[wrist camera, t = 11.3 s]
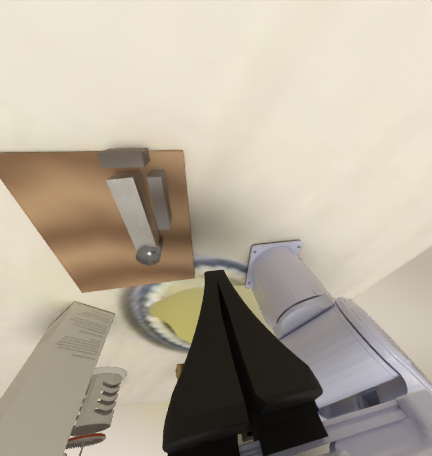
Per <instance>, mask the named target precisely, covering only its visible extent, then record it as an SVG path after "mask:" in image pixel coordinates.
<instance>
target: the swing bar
mask: <svg viewBox="0 0 432 456" xmlns="http://www.w3.org/2000/svg"><path fill="white" fill-rule="evenodd" d="M106 182H107V184H108V186H109V189H110V191H111V193H112V196H113V198H114V200H115V202H116V205H117V207H118V209H119V212H120V214H121V216H122V218H123V221H124V223H125V225H126V228H127V230H128V232H129V235H130V237H131V239H132V241H133V244H134V246H135V248H136V251H137V253H136V260H137V261H138V262H139V263H141V264H143V265H147V266H151V265H155V264H157V263H158V262H159V261H160V258H161V252H162V246H163V238H162V237H161V236H160V234H159V231H158V228H157V225H156V221H155V218H154V215H153V212H152V208H151V205H150V202H149V199H148V195H147V192H146V189H145V186H144V182H143V179H142V176H141V173H140V170H136V171H125V172H116V173H115V174H114V175H112V176H111V177H109V178H108V179H107V180H106Z"/></svg>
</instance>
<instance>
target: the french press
mask: <svg viewBox="0 0 432 456" xmlns="http://www.w3.org/2000/svg"><path fill="white" fill-rule="evenodd" d="M126 375H127V371H126V370H124V369H121V368H118V367H101V368H95V369H94V372H93V375H92V378H91V380H90V383H89V386H88V388H87V391H86V394H85V395H86V397H85V398H84V399H83V402H82V404H83V405H82V404H81V405H82V407H80V410H79V411H80V414H79V415H78V416H77V418H76V420H77V422H76V425H74V426H73V429H72V431H71V434H70V436H75V437H73V438H70V439H68V442H67V445H66V448H65V449H68V448H72V447H73V448H74V447H78V446H80V447H82V448H81V451H80V454H79V456H81V452H82V449H83V447H85V445H86V446H87V445H90V444H91V445H94V444H97V443H100V442H102V441H103V440H105V438H106V437H105V434H102V433H96V432H99V431H102V430H105V429H107V428H109V427H110V425H111V421H112V417H113V413H114V410H113V408H114V407H115V404H116V402H115V400H116V398H117V396H118V393H117V392H118V391H119V388H120V386H119V384H120V383H121V380H122V379H123V378H124V377H125V376H126ZM100 390H103V391H104V392H103V394H101V393H100ZM98 398H100V399H101V401H97V400H98ZM95 407H97V408H98V409H95ZM112 410H113V411H112ZM89 434H90V435H89ZM78 435H80V436H78ZM83 435H84V436H83ZM93 443H94V444H93ZM63 456H67V454H66V453H63Z"/></svg>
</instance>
